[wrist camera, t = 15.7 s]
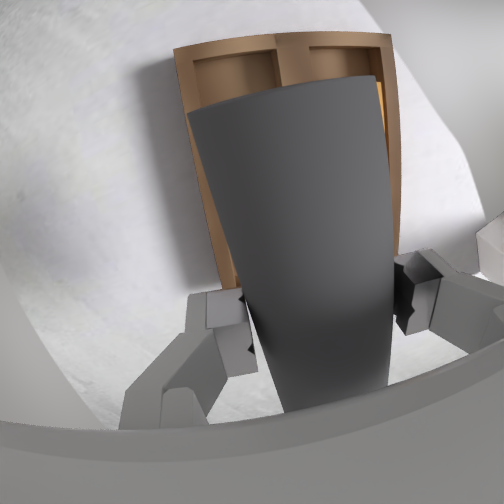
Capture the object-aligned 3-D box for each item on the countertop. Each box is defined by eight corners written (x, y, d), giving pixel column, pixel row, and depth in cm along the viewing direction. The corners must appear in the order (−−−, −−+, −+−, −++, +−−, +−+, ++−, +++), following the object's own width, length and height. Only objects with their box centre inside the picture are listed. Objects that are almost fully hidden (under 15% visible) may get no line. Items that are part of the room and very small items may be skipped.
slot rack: (224, 281, 27) (226, 303, 24) (178, 55, 18) (173, 49, 16) (381, 250, 27) (396, 267, 25) (371, 39, 19) (390, 34, 16)
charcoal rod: (364, 352, 13) (400, 424, 10) (277, 379, 13) (296, 459, 10) (333, 77, 8) (414, 74, 4) (192, 109, 8) (177, 121, 4)
